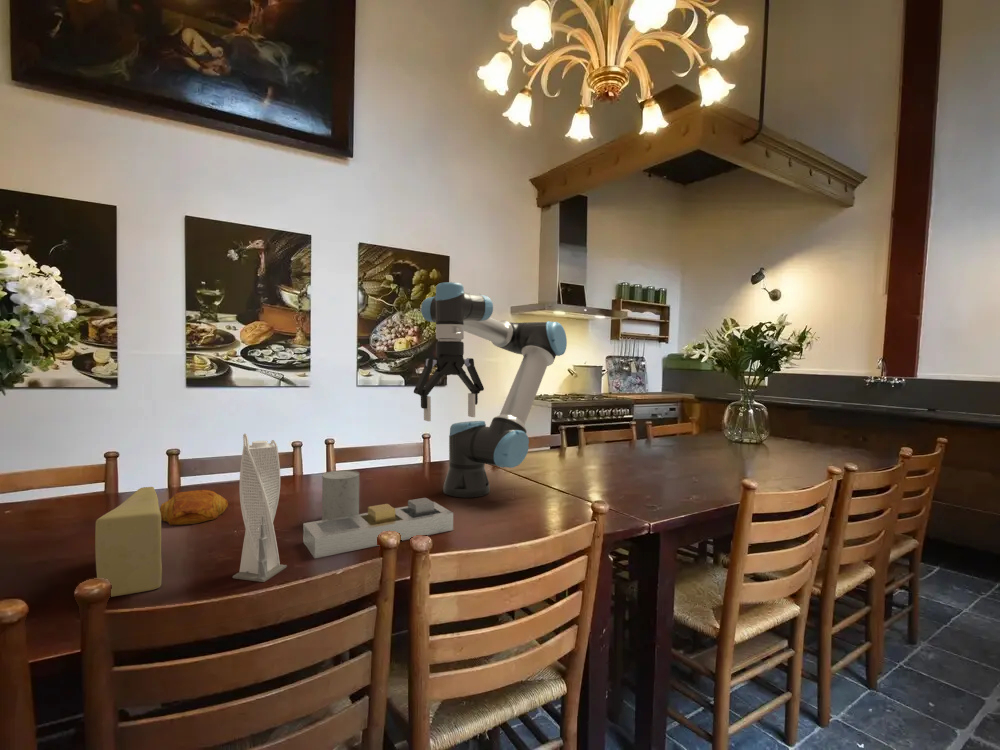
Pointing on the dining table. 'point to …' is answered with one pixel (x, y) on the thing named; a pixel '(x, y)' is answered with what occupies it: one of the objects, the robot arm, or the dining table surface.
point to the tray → (375, 528)
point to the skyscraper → (259, 510)
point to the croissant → (193, 507)
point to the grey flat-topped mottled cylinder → (340, 494)
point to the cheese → (130, 544)
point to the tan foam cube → (381, 514)
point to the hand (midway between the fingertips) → (450, 418)
